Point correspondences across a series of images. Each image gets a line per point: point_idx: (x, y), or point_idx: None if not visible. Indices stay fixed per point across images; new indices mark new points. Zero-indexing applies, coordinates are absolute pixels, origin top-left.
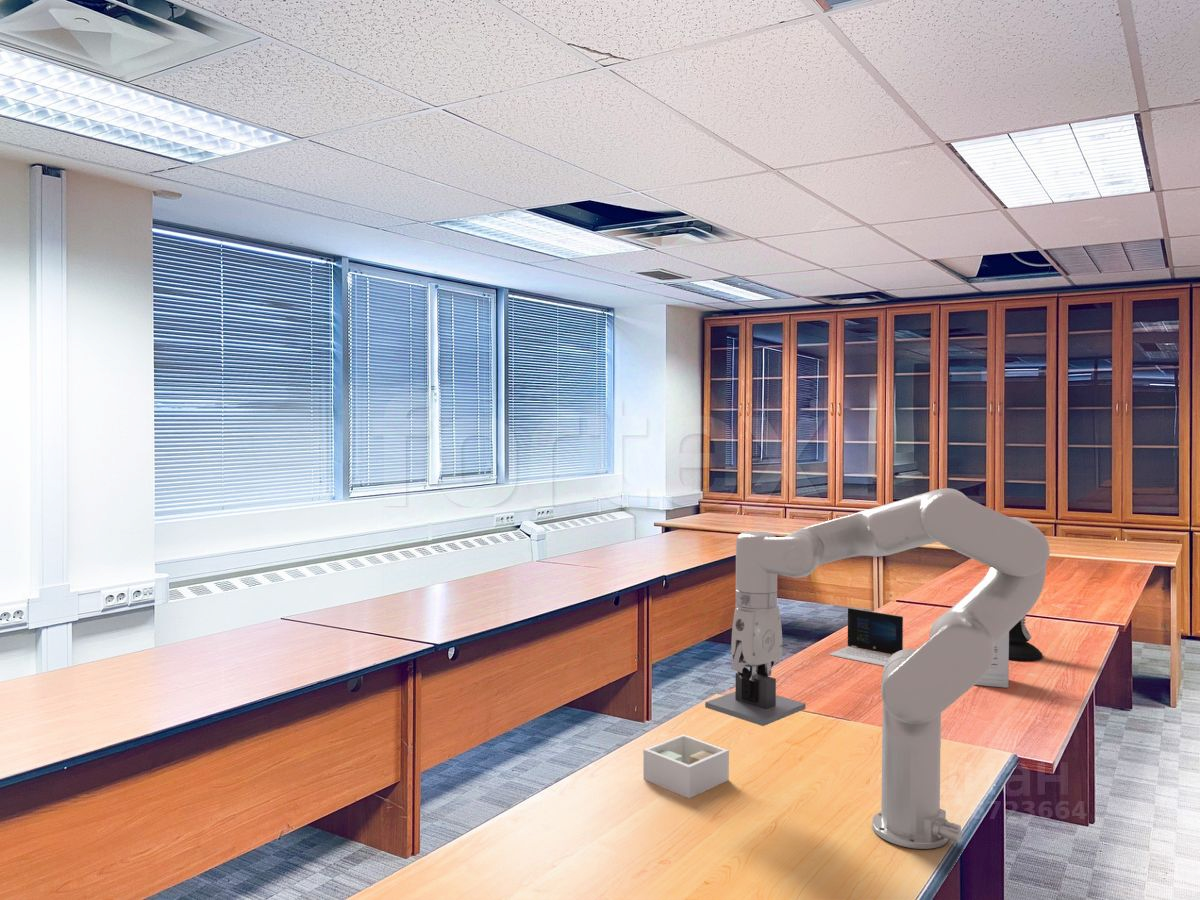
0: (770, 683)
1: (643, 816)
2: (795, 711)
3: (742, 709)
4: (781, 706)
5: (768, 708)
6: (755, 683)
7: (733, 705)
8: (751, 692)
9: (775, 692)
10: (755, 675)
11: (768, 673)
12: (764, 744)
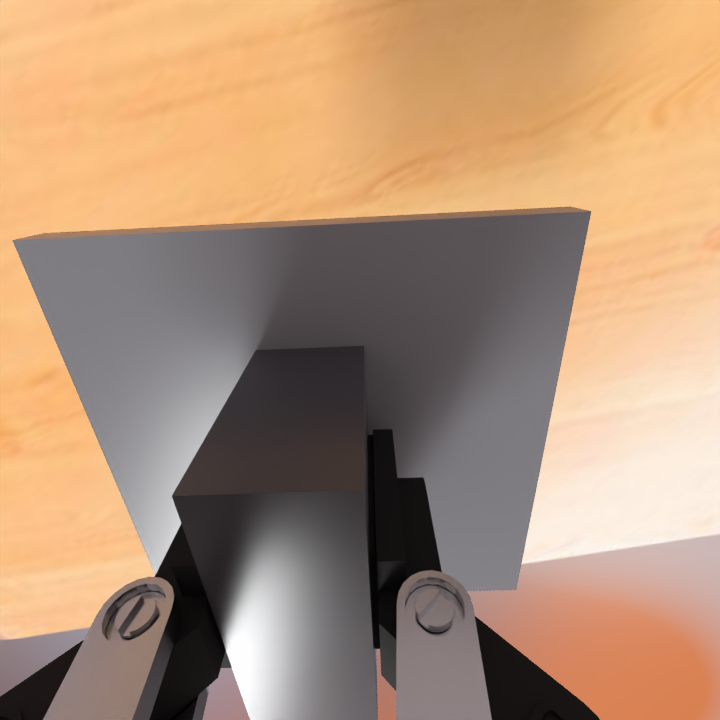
0: (292, 466)
1: (557, 404)
2: (164, 229)
3: (482, 432)
4: (229, 317)
5: (341, 346)
6: (404, 547)
7: (459, 496)
8: (408, 500)
9: (229, 402)
10: (399, 635)
11: (151, 610)
12: (79, 468)
